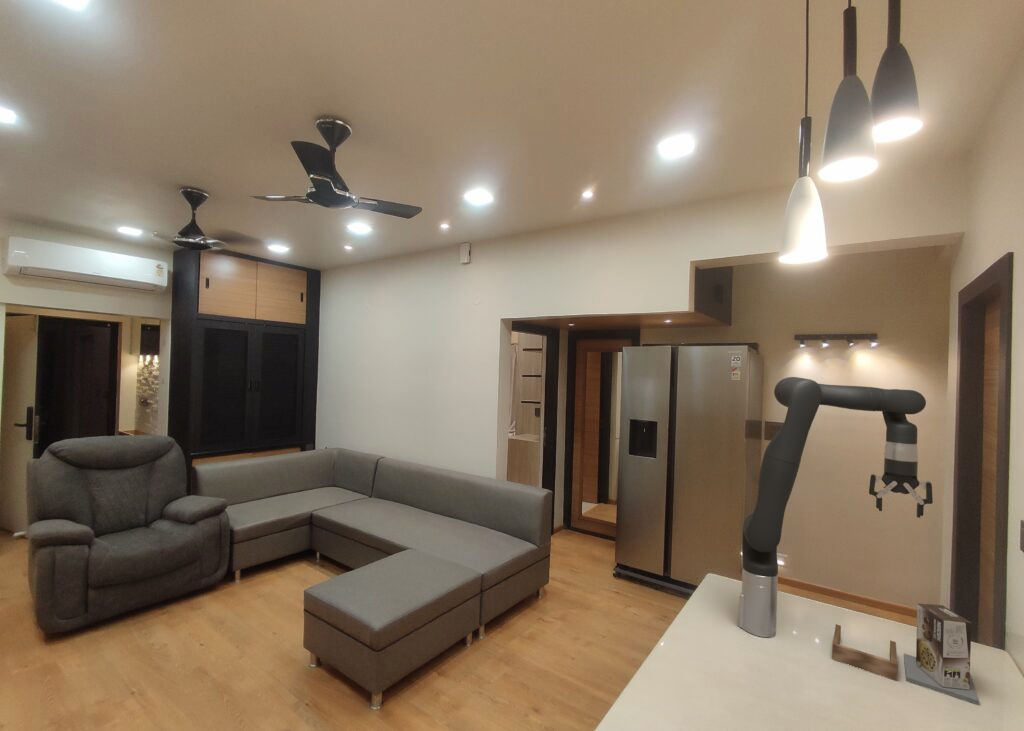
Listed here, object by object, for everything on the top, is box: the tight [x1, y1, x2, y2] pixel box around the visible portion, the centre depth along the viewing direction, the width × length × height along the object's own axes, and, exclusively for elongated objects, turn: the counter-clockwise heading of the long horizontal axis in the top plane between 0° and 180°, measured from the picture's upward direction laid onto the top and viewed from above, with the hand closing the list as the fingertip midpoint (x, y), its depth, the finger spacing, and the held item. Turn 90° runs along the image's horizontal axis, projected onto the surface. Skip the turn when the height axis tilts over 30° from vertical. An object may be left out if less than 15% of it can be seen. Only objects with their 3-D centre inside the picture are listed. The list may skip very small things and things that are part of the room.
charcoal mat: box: [903, 653, 980, 706], centre depth 118 cm, size 13×13×1 cm
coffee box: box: [915, 603, 972, 690], centre depth 118 cm, size 9×6×16 cm
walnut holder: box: [831, 623, 898, 682], centre depth 126 cm, size 13×13×4 cm
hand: (899, 513), depth 137 cm, fingers open, 8 cm apart
